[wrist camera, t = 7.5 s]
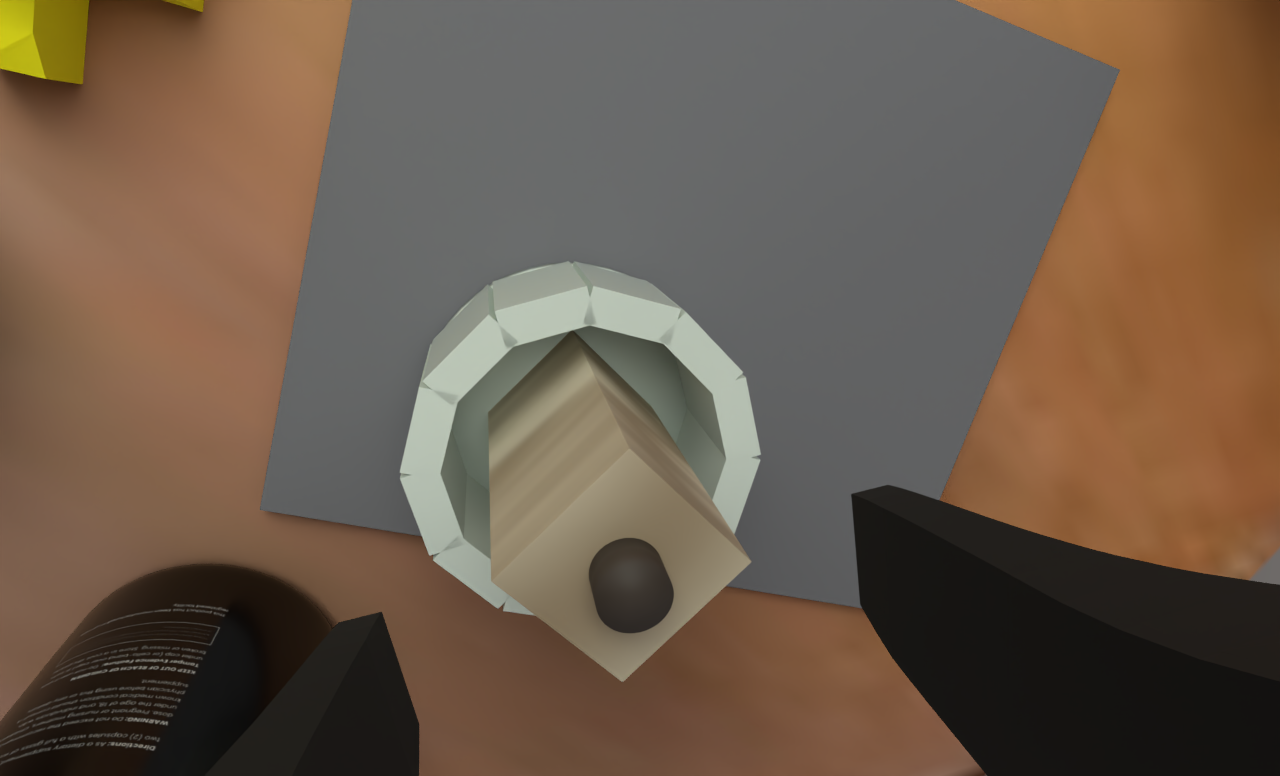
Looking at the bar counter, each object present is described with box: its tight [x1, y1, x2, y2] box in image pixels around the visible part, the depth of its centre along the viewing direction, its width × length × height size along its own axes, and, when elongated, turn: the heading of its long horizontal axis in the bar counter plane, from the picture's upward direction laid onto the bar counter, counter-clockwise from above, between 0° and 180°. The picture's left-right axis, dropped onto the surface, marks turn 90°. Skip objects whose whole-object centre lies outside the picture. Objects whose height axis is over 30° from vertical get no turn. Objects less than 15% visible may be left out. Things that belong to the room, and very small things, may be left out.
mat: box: [260, 0, 1120, 608], centre depth 20 cm, size 19×17×1 cm
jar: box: [400, 261, 761, 616], centre depth 18 cm, size 8×8×4 cm
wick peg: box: [488, 330, 752, 682], centre depth 16 cm, size 3×3×9 cm
